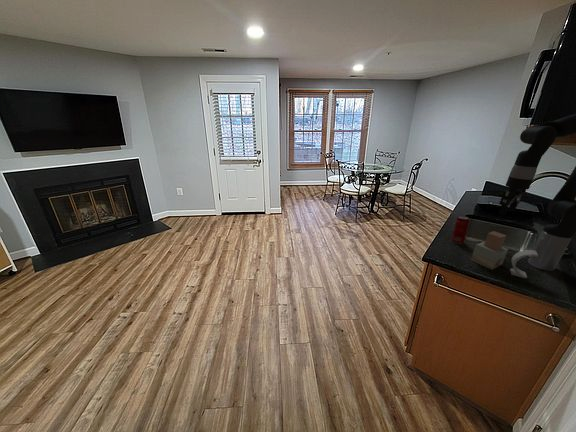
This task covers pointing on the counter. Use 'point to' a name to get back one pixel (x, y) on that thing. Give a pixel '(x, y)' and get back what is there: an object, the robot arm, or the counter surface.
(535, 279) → the counter surface
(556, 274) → the counter surface
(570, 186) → the robot arm
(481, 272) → the counter surface
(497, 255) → the tower top
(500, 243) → the terracotta block
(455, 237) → the beverage can
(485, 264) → the tower bottom
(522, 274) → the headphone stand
